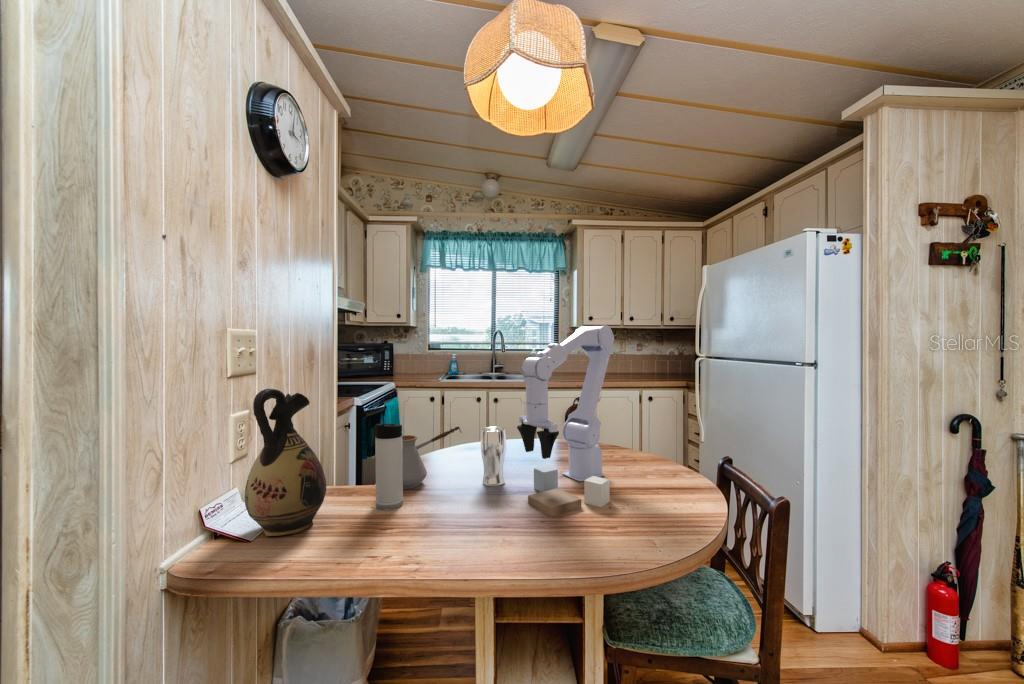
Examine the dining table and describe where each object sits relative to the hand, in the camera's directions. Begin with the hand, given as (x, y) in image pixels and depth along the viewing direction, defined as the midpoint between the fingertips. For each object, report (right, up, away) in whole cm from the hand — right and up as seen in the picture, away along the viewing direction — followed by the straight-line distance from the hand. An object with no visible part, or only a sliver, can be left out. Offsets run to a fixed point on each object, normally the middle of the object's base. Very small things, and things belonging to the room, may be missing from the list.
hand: (537, 454), depth 113 cm
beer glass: (-12, -10, +6) cm, 16 cm away
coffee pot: (-31, -10, +7) cm, 33 cm away
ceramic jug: (-55, -10, -22) cm, 60 cm away
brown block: (+3, -10, -10) cm, 15 cm away
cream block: (+14, -10, -8) cm, 19 cm away
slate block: (+2, -9, +1) cm, 10 cm away
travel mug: (-36, -10, -10) cm, 39 cm away
